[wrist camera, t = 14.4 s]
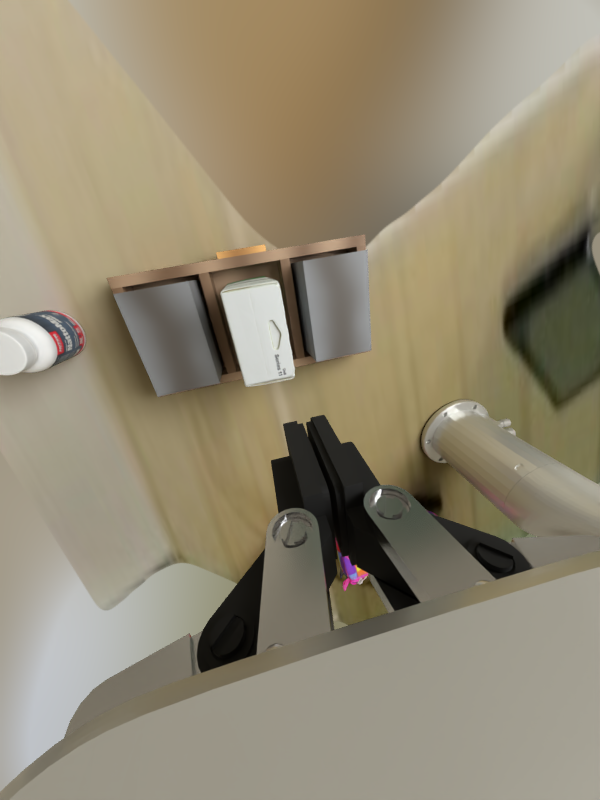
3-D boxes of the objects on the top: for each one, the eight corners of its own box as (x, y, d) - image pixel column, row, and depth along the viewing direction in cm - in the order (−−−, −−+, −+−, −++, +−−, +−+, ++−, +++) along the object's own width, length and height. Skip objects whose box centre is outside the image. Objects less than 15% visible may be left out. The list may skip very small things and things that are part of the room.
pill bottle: (97, 344, 32) (51, 367, 24) (58, 363, 32) (-1, 393, 24) (62, 301, 30) (-3, 311, 22) (20, 322, 30) (-61, 340, 22)
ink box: (224, 282, 31) (216, 287, 21) (267, 275, 32) (280, 276, 21) (243, 355, 35) (245, 391, 24) (281, 347, 35) (298, 379, 25)
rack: (351, 232, 32) (382, 221, 25) (357, 343, 38) (384, 359, 31) (120, 271, 30) (81, 271, 22) (166, 384, 36) (148, 412, 28)
